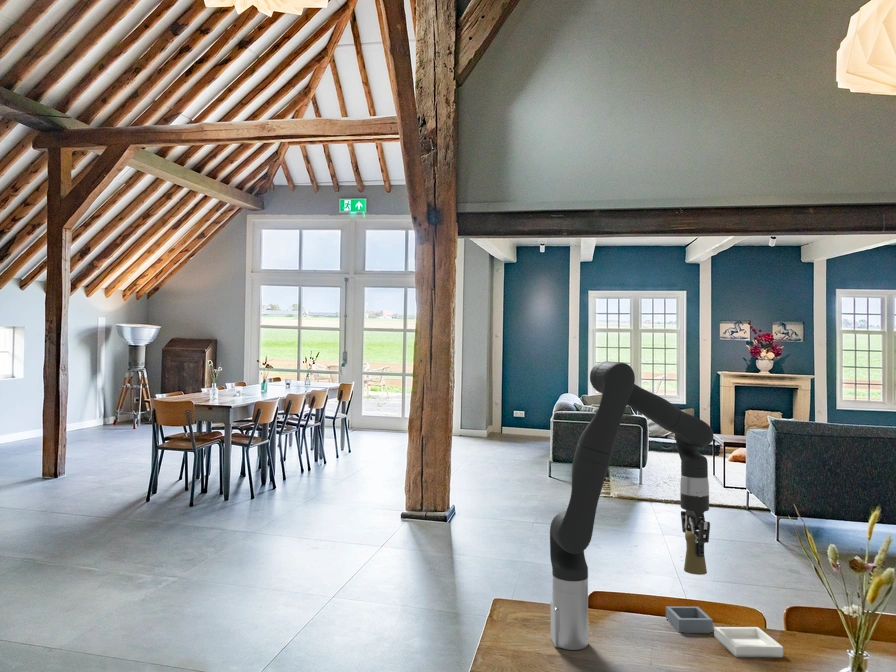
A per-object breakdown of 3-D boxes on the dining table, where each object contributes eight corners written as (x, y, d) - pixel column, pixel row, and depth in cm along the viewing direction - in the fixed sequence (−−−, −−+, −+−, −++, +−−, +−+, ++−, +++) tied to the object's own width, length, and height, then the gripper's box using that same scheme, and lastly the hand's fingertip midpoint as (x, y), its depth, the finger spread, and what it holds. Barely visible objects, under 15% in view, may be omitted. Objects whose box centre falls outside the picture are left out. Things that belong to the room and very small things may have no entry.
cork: (709, 575, 168) (708, 534, 169) (686, 573, 170) (685, 533, 170) (704, 568, 174) (703, 529, 175) (681, 567, 175) (681, 528, 176)
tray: (736, 657, 154) (735, 646, 154) (714, 636, 166) (714, 626, 166) (783, 657, 154) (783, 647, 154) (758, 636, 166) (757, 627, 166)
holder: (678, 632, 168) (678, 619, 168) (665, 618, 177) (665, 606, 177) (712, 632, 168) (712, 619, 168) (698, 618, 177) (697, 606, 178)
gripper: (671, 487, 180) (671, 546, 179) (692, 497, 166) (693, 561, 165) (696, 487, 180) (697, 546, 179) (719, 497, 166) (720, 561, 165)
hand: (695, 553), depth 172 cm, fingers closed on cork, 5 cm apart
